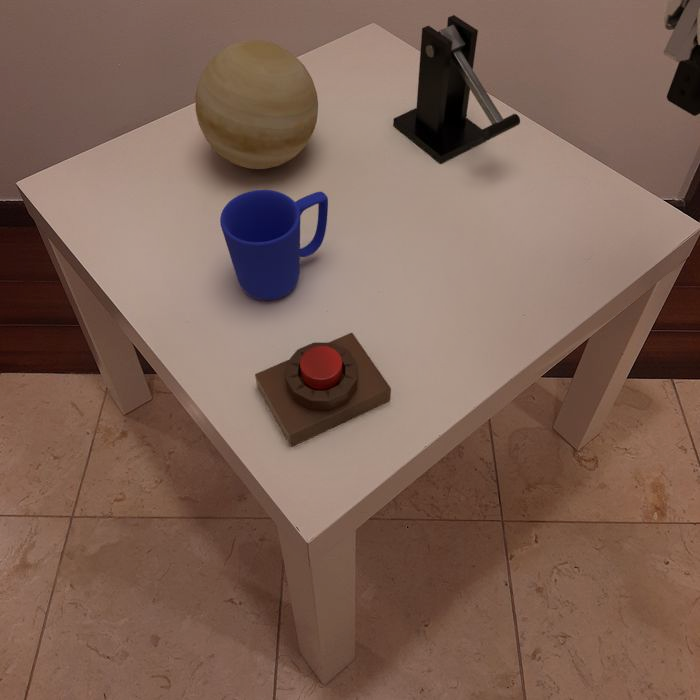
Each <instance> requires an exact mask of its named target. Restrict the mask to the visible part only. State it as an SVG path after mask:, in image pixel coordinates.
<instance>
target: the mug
mask: <svg viewBox="0 0 700 700" xmlns="http://www.w3.org/2000/svg"><path fill="white" fill-rule="evenodd" d="M316 205H317V207H318V209H317V221H316V222H317V223H316V230H315V233H314V236H313V238H312V239H311V241H310V242H309V243H308V244H307V245H305V246H303V247H301V216H302V214H303V213H304V212H305V211H306V210H307V209H309V208H312V207H314V206H316ZM328 209H329V198H328V196H327V194H326V193H325V192H324V191H316V192H313V193H311V194H308V195H305V196H304V197H301V198H299V199H297V200H296V201H295V200H294V199H293V198H291V197H290V196H288V195H286V194H285V193H282V192H279V191H277V190H271V189H256V190H250V191H247V192H243V193H241V194H239V195H237V196H235V197H233V198H232V199H231V200H229V201H228V203H227V204H226V205H225V206H224V208H223V209H222V211H221V214H220V218H219V220H220V221H219V222H220V228H221V230H222V231H221V232H222V234H223V237H224V240H225V243H226V247H227V250H228V253H229V257H230V260H231V263H232V266H233V270H234V272H235V277H236V279H237V282H238V284H239V286H240V287H241V290H243V292H245V294H247V295H249V296H250V297H252V298H254V299H257V300H262V301H273V300H277V299H280V298H282V297H285V296H287V295H288V294H289V293H291V292H292V291H293V289H294V288H295V287H296V285H297V283H298V280H299V277H300V270H301V269H300V265H301V264H300V262H301V260H300V259H301V258H306V257H309V256H311V255H313V254H314V253H315V252H317V251H318V250H319V248H321V246H322V244H323V242H324V239H325V236H326V232H327V231H326V230H327V225H328V214H329V213H328V212H329V211H328Z"/></svg>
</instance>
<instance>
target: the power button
mask: <svg viewBox="0 0 700 700" xmlns="http://www.w3.org/2000/svg"><path fill="white" fill-rule="evenodd" d="M300 368H301V376H302V379H303V381H304V382H305V383H306V384H307V385H308V386H309V387H311V388H314V389H319V390H324V389H329V388H331V387H333V386H335V385H336V384H337V383H338V382H339V381H340V379H341V377H342V358H341V356H340V354H339V353H338V352H337V351H336V350H334V349H333V348H330V347H327V346H316V347H313V348H311V349H309V350H307V351H306V352H305V353H304V354H303V356H302V358H301V360H300Z"/></svg>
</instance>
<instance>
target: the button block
mask: <svg viewBox="0 0 700 700" xmlns="http://www.w3.org/2000/svg"><path fill="white" fill-rule="evenodd" d="M316 346H327V347H330V348H333V349H334V350H336V351H337V352H338V353H339V354H340V356H341V358H342V377H341V379H340V381H339V382H338V383H337V384H336V385H335V386H333V387H331V388H329V389H324V390H319V389H314V388H311V387H309V386H308V385H307V384H306V383H305V382H304V381H303V379H302V376H301V368H300V360H301V358H302V356H303V354H304V353H305V352H306V351H307V350H309V349H311V348H313V347H316ZM254 377H255V382H256V387H257V389H258V390H259V392H260V395H261V397H262V398H263V400H264V401H265V403H266V405H267V406H268V408H269V411H270V412H271V414H272V415H273V418H275V421H276V423H277V425H278V426H279V428H280V429H281V431H282V433H283V435H284V437H285V438H286V440H287V442H288V444H289V446H290V447H295V446H296V445H299V444H301V443H303V442H305V441H307V440H309V439H311V438H313V437H316V436H318V435H320V434H322V433H325V432H326V431H329V430H330V429H332V428H336V427H337V426H339V425H342V424H344V423H346V422H348V421H350V420H353V419H354V418H356V417H358V416H361V415H363V414H365V413H367V412H369V411H372V410H373V409H375V408H377V407H380V406H381V405H384V404H386V403H389V402H391V395H392V388H391V386H390V385H389V383H388V382H387V380H386V379H385V377H384V376H383V375H382V373H381V372H380V370H379V368H378V367H377V366H376V365H375V363H374V362H373V360H372V359H371V357H370V356H369V355H368V353H367V352H366V350H365V349H364V348H363V346H362V344H361V343H360V342H359V340H358V339H357V337H356V335H355V334H354V333H353V332H349V333H347V334H345V335H343V336H340V337H338V338H336V339H333V340H331V341H329V342H312V343H309V344H307V345H304V346H302V347H299V348H298V349H296V351H295V352H294V353H293V355H292V356H291V357H290V358H289V359H287V360H285V361H282V362H279V363H278V364H275V365H273V366H270V367H268V368H266V369H264V370H261V371H259V372H256V373H255V374H254Z"/></svg>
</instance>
